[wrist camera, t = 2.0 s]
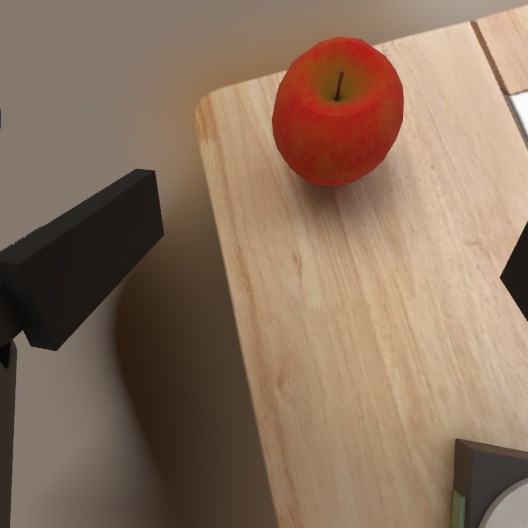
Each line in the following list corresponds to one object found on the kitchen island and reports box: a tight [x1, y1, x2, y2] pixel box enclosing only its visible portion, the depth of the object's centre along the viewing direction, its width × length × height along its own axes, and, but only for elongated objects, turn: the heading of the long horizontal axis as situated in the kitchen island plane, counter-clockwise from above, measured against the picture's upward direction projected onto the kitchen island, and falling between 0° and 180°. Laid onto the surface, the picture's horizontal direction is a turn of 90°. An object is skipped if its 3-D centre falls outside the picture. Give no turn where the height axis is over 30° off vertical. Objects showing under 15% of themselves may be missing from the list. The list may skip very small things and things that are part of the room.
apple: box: [272, 37, 404, 186], centre depth 24 cm, size 9×8×11 cm
